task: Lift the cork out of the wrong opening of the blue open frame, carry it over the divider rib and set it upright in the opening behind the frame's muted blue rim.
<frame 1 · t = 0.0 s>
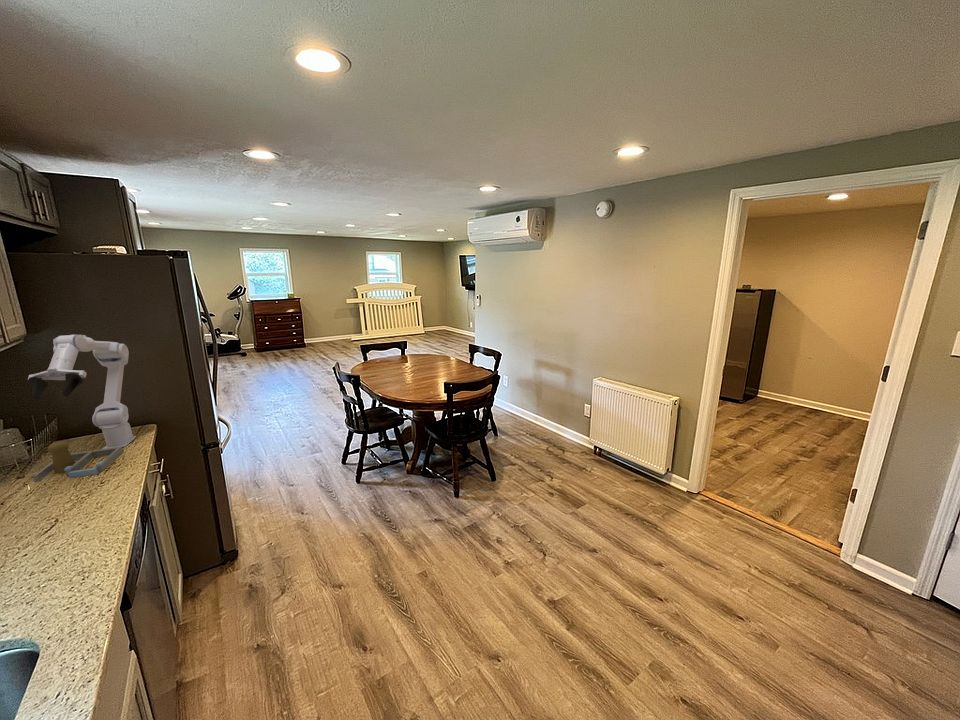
hand: (50, 396, 128), 32 cm above the worktop, tool tilted 50°, fingers open, 7 cm apart
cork: (66, 469, 144), resting in blue open frame
blue open frame: (81, 466, 145), on the worktop
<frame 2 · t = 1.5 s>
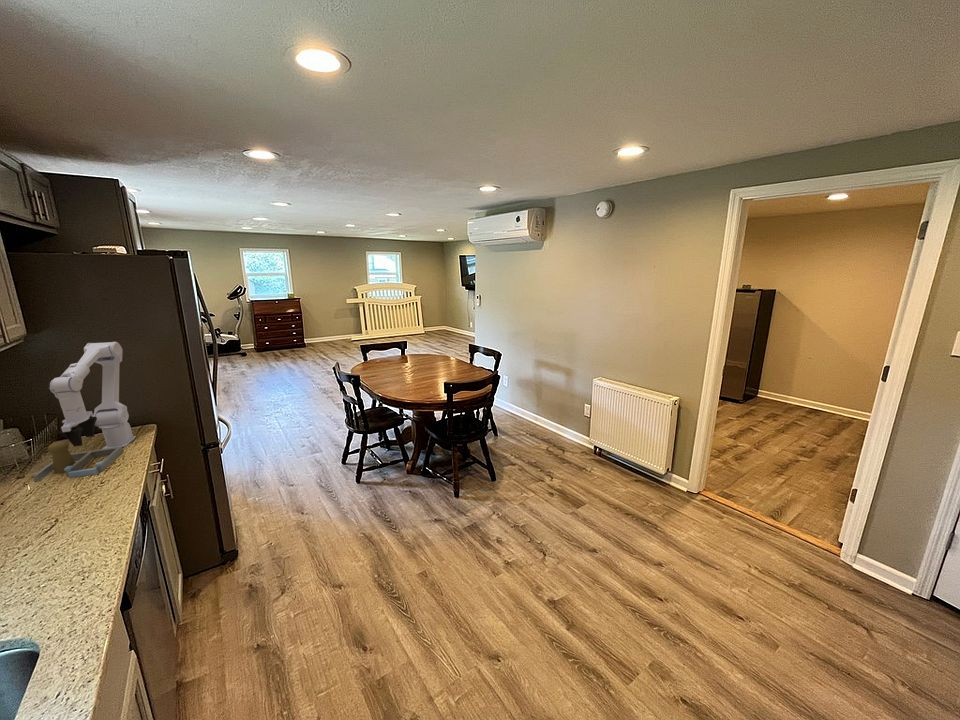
hand: (84, 440, 143), 10 cm above the worktop, tool pointing down, fingers open, 7 cm apart
nothing on the worktop moved.
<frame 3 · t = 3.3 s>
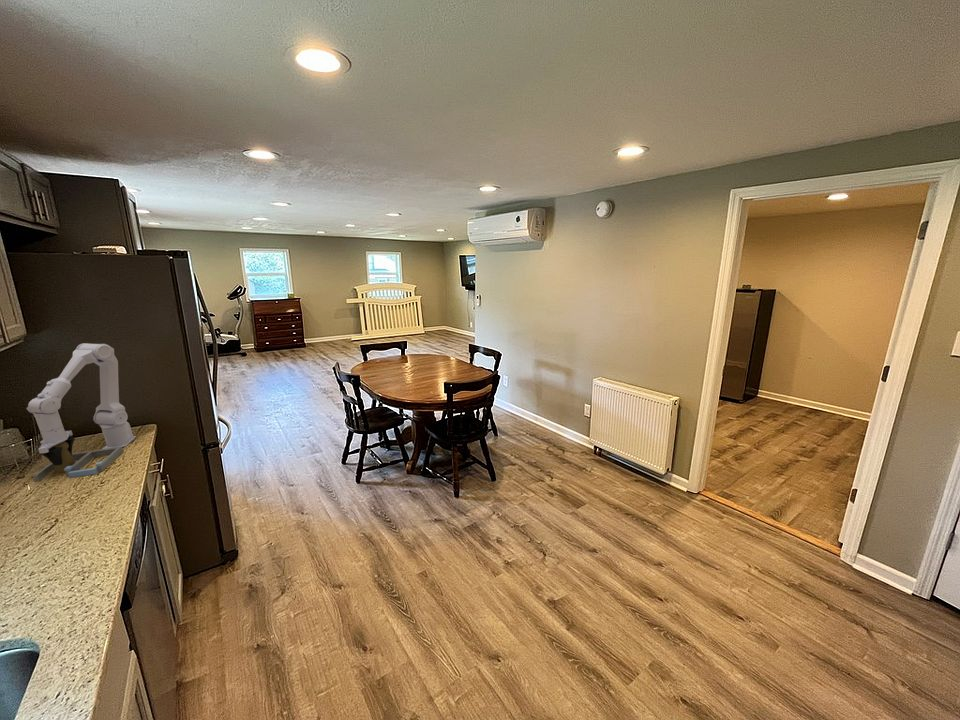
hand: (63, 461, 143), 3 cm above the worktop, tool pointing down, fingers closed on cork, 5 cm apart
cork: (66, 469, 144), resting in blue open frame, touching gripper
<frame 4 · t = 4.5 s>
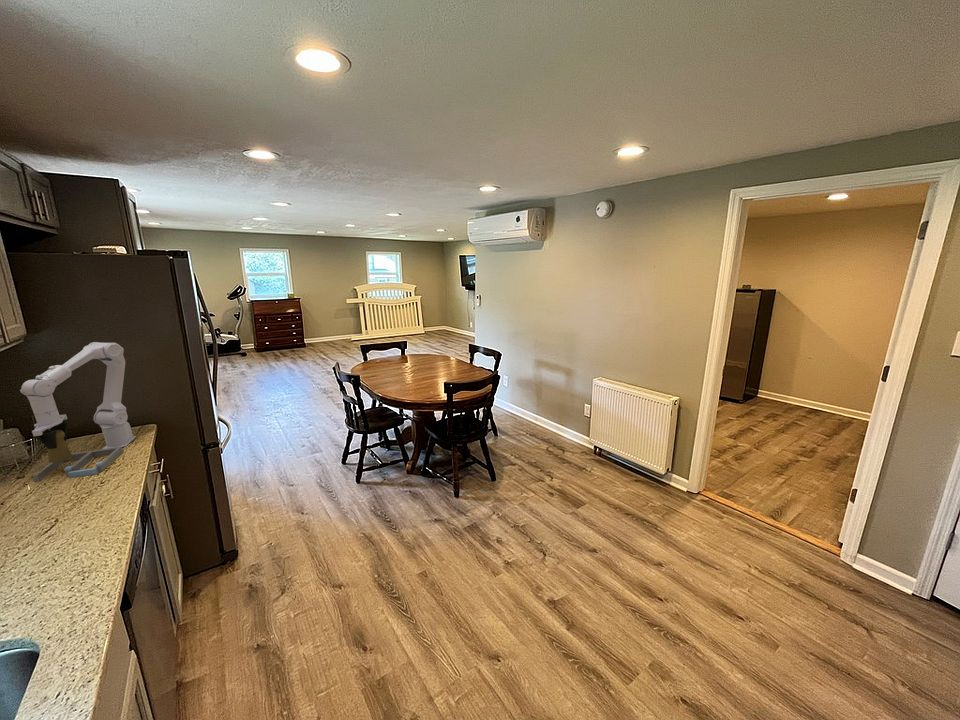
hand: (57, 444, 141), 10 cm above the worktop, tool pointing down, fingers closed on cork, 5 cm apart
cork: (60, 459, 142), point 4 cm above the worktop, touching gripper
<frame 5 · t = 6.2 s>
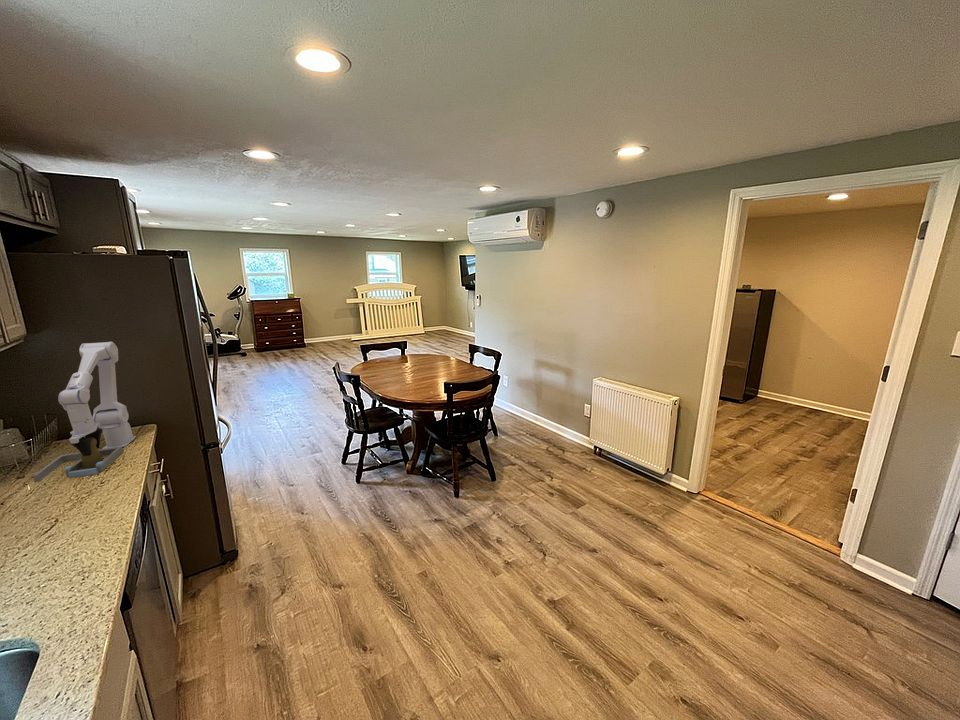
hand: (91, 451, 145), 6 cm above the worktop, tool pointing down, fingers closed on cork, 5 cm apart
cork: (93, 465, 146), resting in blue open frame, touching gripper
when the fingers open (4 cm above the worktop, at t = 7.0 s): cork stays where it is, resting in blue open frame.
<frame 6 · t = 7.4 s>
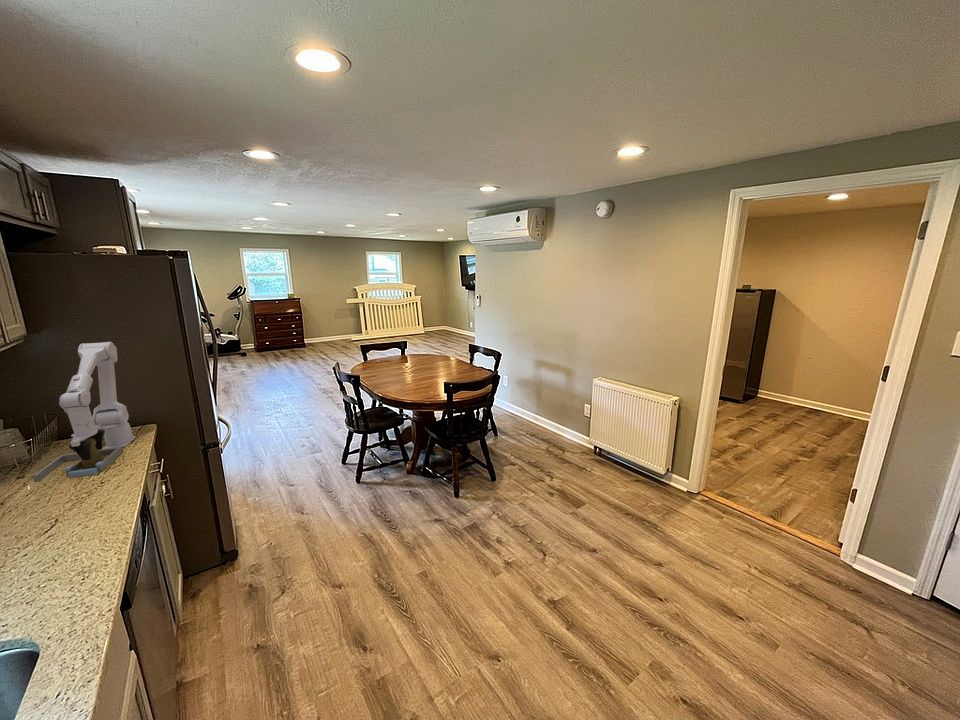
hand: (92, 454, 145), 4 cm above the worktop, tool pointing down, fingers open, 7 cm apart
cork: (93, 465, 146), resting in blue open frame
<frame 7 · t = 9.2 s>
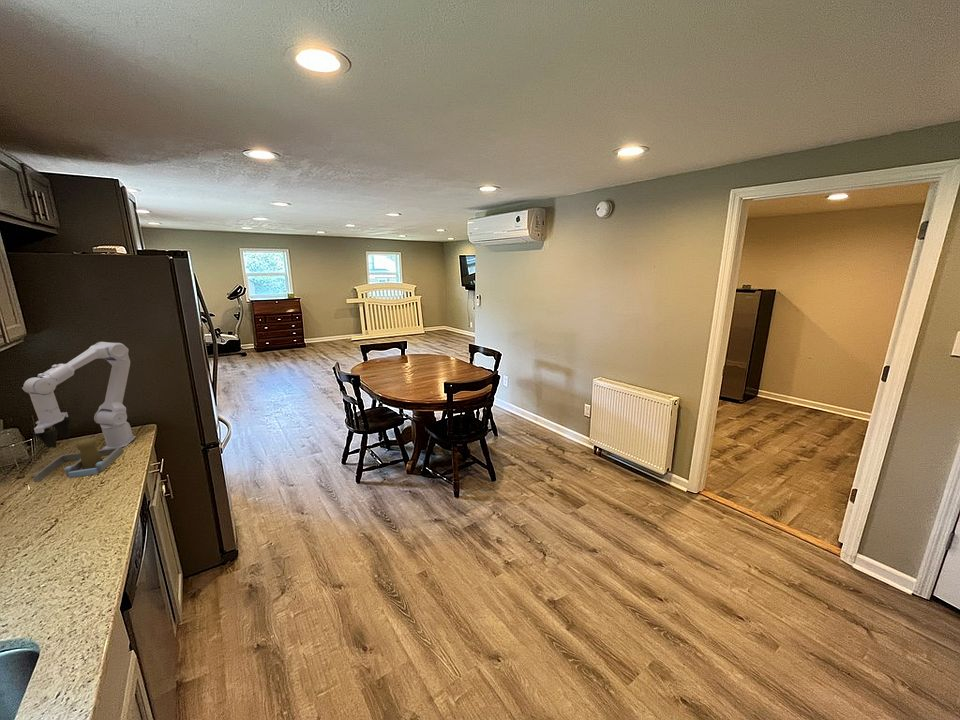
hand: (58, 442, 142), 10 cm above the worktop, tool pointing down, fingers open, 7 cm apart
nothing on the worktop moved.
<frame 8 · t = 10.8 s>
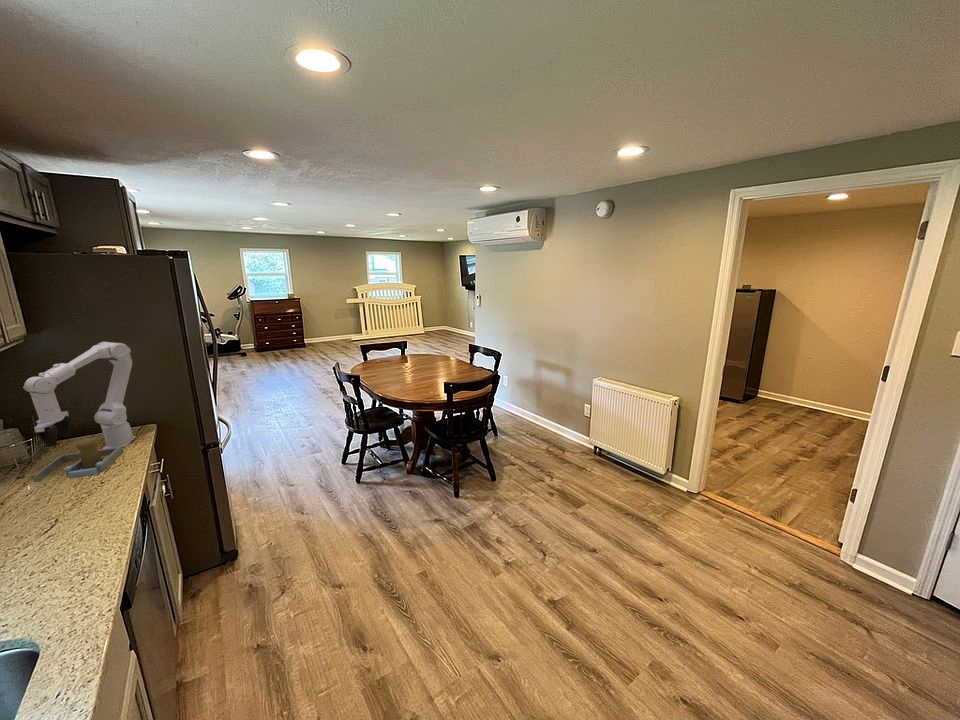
hand: (59, 441, 143), 10 cm above the worktop, tool pointing down, fingers open, 7 cm apart
nothing on the worktop moved.
at the end: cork 0.7 cm from the target spot, resting in blue open frame; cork tilted 0°; the gripper is holding nothing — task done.
